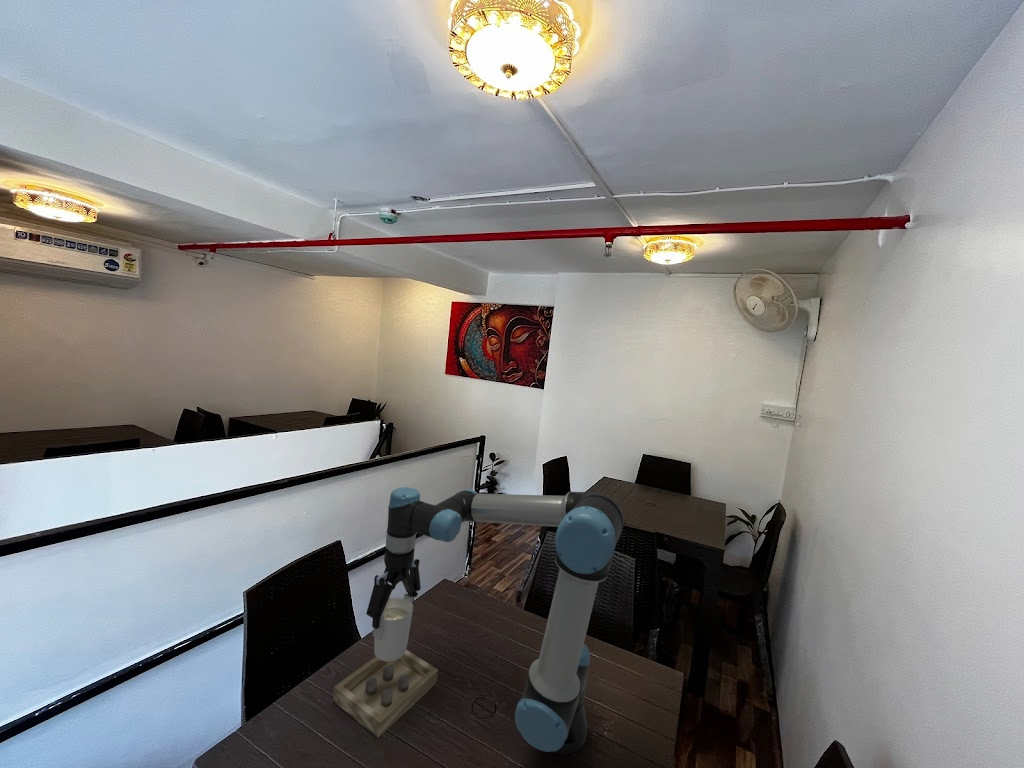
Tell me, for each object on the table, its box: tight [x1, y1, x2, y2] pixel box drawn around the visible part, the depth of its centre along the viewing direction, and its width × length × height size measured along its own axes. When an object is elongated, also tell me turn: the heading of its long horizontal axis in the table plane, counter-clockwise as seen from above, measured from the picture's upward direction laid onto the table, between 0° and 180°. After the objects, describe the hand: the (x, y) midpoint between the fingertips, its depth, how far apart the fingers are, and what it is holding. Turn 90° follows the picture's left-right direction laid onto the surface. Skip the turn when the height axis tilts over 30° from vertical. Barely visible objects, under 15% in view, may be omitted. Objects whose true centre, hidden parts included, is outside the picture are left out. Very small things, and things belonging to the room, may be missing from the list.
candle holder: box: [373, 597, 414, 662], centre depth 112 cm, size 10×10×12 cm
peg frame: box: [332, 649, 439, 739], centre depth 114 cm, size 17×21×4 cm
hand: (392, 627), depth 112 cm, fingers closed on candle holder, 9 cm apart
